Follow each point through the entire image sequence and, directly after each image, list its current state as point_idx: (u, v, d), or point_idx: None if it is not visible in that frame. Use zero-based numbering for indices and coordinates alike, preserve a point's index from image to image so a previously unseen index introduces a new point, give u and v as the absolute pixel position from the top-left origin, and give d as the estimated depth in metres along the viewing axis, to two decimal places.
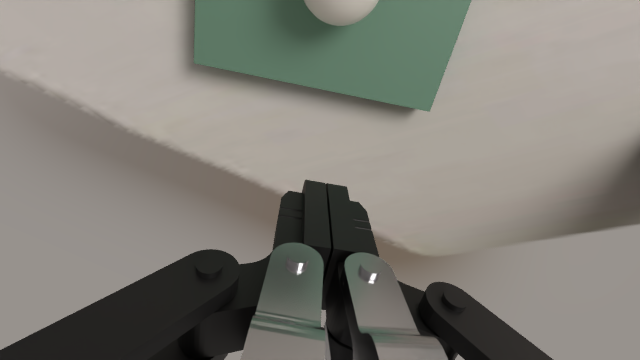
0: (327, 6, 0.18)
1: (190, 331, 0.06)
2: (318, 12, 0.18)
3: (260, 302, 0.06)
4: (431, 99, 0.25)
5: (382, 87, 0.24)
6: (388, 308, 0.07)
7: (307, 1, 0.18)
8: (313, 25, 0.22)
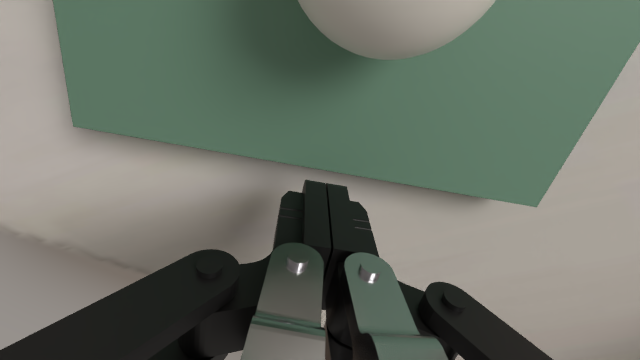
0: (364, 12, 0.06)
1: (190, 331, 0.06)
2: (335, 28, 0.07)
3: (260, 302, 0.06)
4: (543, 187, 0.13)
5: (453, 167, 0.12)
6: (388, 308, 0.07)
7: None
8: (318, 50, 0.10)
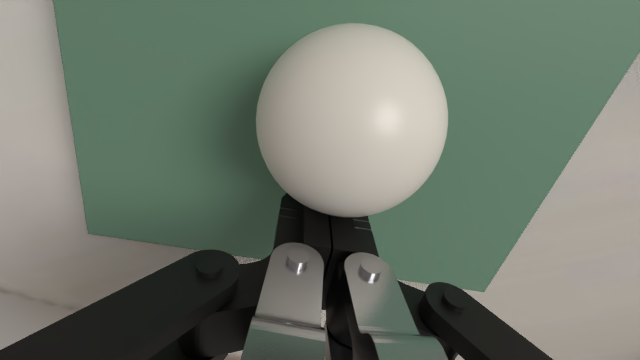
0: (319, 197, 0.07)
1: (190, 331, 0.06)
2: (298, 200, 0.08)
3: (260, 302, 0.06)
4: (489, 277, 0.15)
5: (410, 263, 0.15)
6: (388, 308, 0.07)
7: (274, 176, 0.08)
8: None
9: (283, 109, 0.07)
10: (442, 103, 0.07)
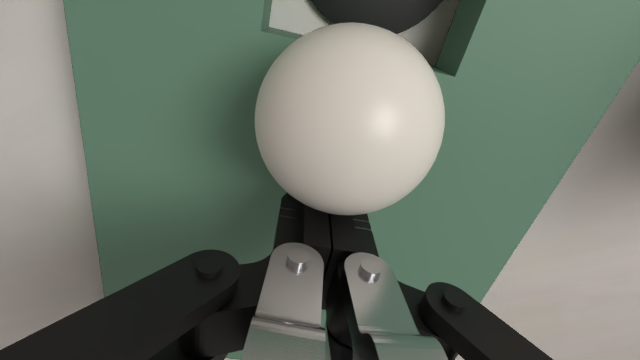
0: None
1: (190, 331, 0.06)
2: None
3: (260, 303, 0.06)
4: None
5: None
6: (388, 309, 0.07)
7: None
8: None
9: None
10: None
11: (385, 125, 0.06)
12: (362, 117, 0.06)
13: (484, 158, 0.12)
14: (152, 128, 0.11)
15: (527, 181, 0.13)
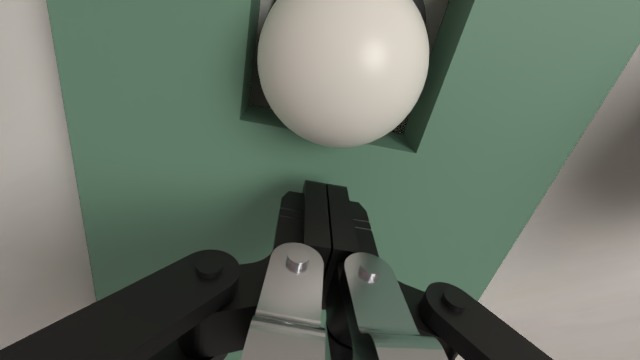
0: None
1: (190, 331, 0.06)
2: None
3: (261, 302, 0.06)
4: None
5: None
6: (389, 308, 0.07)
7: None
8: None
9: None
10: None
11: None
12: None
13: (448, 219, 0.13)
14: (144, 199, 0.13)
15: (488, 237, 0.14)
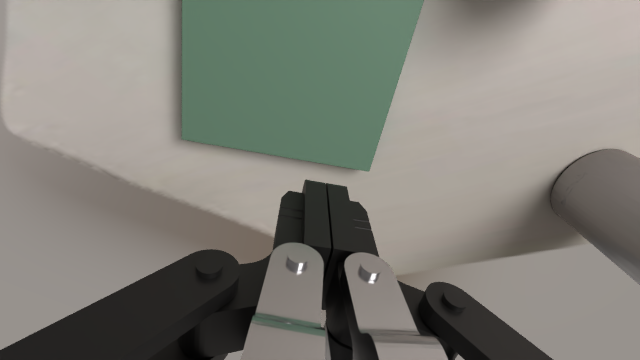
0: None
1: (190, 331, 0.06)
2: None
3: (260, 303, 0.06)
4: (369, 162, 0.32)
5: (330, 154, 0.31)
6: (388, 308, 0.07)
7: None
8: (273, 112, 0.29)
9: None
10: None
11: None
12: None
13: (378, 4, 0.25)
14: None
15: (401, 18, 0.25)
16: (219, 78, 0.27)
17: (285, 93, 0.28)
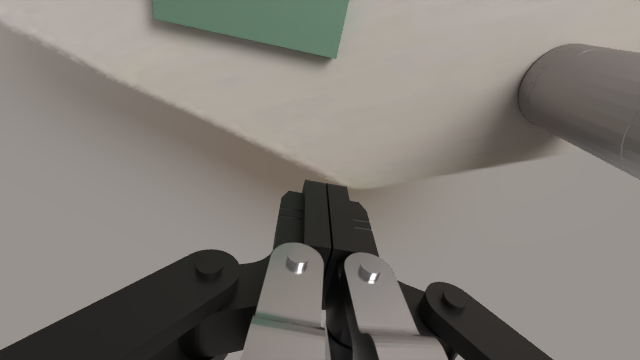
0: None
1: (190, 331, 0.06)
2: None
3: (260, 302, 0.06)
4: (336, 48, 0.33)
5: (297, 38, 0.32)
6: (389, 308, 0.07)
7: None
8: None
9: None
10: None
11: None
12: None
13: None
14: None
15: None
16: None
17: None
